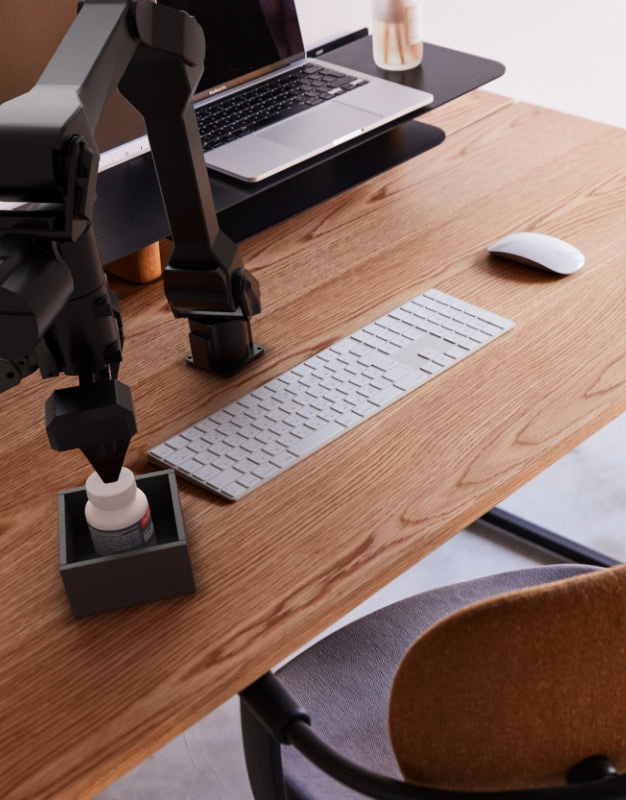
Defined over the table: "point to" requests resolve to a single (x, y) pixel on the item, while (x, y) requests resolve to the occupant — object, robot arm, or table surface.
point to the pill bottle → (118, 515)
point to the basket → (131, 571)
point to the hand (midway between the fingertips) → (107, 447)
